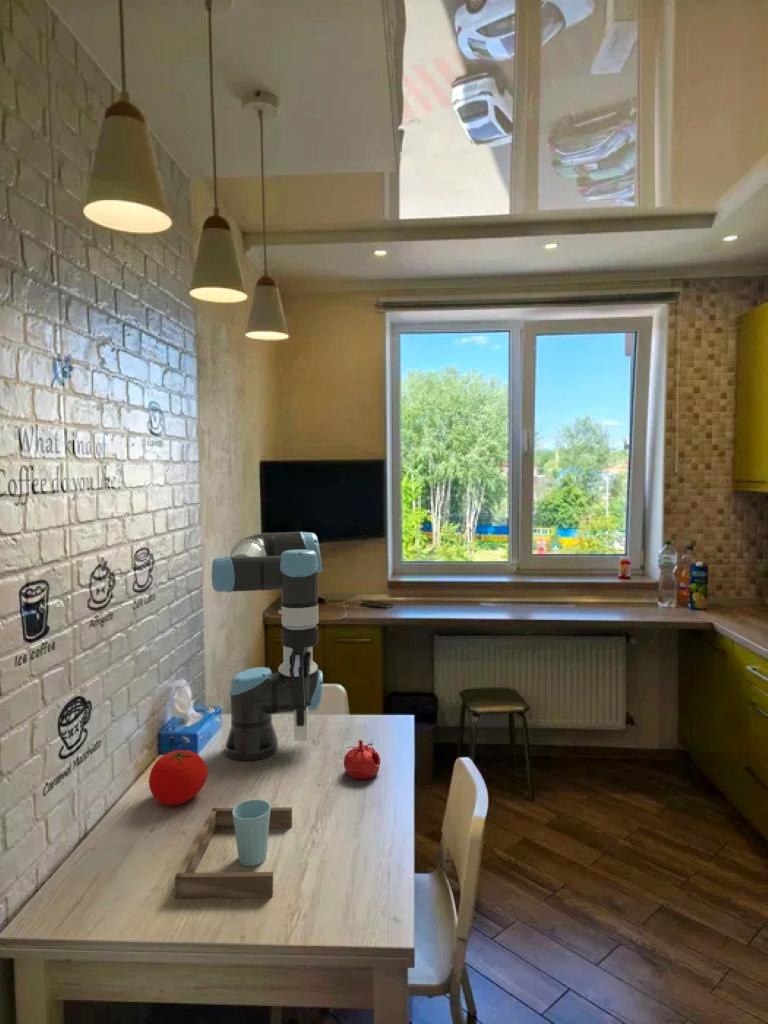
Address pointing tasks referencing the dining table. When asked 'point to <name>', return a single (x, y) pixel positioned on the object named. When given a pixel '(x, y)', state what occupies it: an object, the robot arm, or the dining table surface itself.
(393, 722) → the dining table surface
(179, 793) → the tomato
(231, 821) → the corral
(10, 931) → the dining table surface
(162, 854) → the dining table surface
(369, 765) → the pomegranate
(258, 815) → the cup
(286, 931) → the dining table surface
